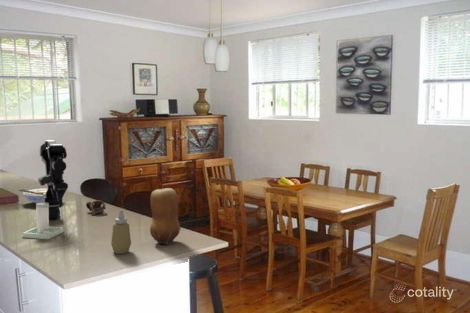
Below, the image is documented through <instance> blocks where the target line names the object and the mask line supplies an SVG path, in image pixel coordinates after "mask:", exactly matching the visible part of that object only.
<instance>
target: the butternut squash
mask: <svg viewBox="0 0 470 313" xmlns="http://www.w3.org/2000/svg"><path fill="white" fill-rule="evenodd" d="M178 203H179V202H178V194H177V191H176V190H175V189H174V188H170V187H169V188H166V187H165V188H159V189H158V188H157V189H155V190H153V191H152V192H151V194H150V210H151V214H152V217H151V223H150V228H149V232H150V233H149V234H150V236H151V237H152V238H153V239H154V241H155V242H157V243H159V244H161V243H163V244H164V243H165V245H167V244H166V243H170V244H171V243H172V242H173V241H174V240H175V239H176V238H177V237H178V235H179V234H180V231H181V229H182V227H181V224H180V221H179V218H178V217H179V214H178V212H179V204H178Z"/></svg>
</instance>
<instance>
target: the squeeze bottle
mask: <svg viewBox="0 0 470 313" xmlns="http://www.w3.org/2000/svg"><path fill="white" fill-rule="evenodd" d="M114 220H115V222H114V223H113V225H112V232H111V233H112V235H111V243H110V244H111V248H112V250H113V253H115V254H116V255H117V254H118V255H124V254H127V253H128V252H129V251H130V248H131V245H132V242H131V231H130V224H129V222H128V218H127V217H125V215H124V211H123V209H119V211H118V215H117V217H116V218H115V219H114Z"/></svg>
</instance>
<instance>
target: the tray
mask: <svg viewBox="0 0 470 313" xmlns="http://www.w3.org/2000/svg"><path fill="white" fill-rule="evenodd" d="M49 232H50V233H49V234H38V233H37V226H35V227H33V228H31V229H28V230H27V231H24V232H22V238H28V239H38V240H39V239H41V240H50V239H51V238H52V239H53V237H56V236H58V235H60V234H62V233H63V232H64V227H62V226H61V227H60V226H49Z"/></svg>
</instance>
